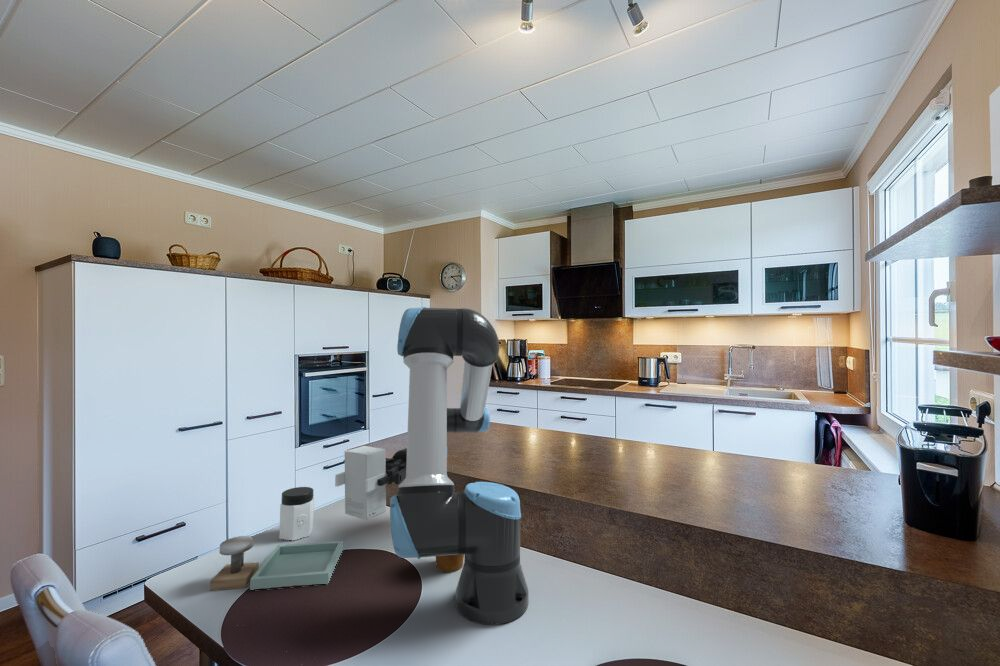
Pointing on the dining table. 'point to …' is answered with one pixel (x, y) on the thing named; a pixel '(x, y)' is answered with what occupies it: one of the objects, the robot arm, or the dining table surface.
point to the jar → (296, 513)
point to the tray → (298, 565)
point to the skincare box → (357, 470)
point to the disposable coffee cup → (449, 562)
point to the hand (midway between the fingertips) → (351, 483)
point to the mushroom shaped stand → (235, 565)
